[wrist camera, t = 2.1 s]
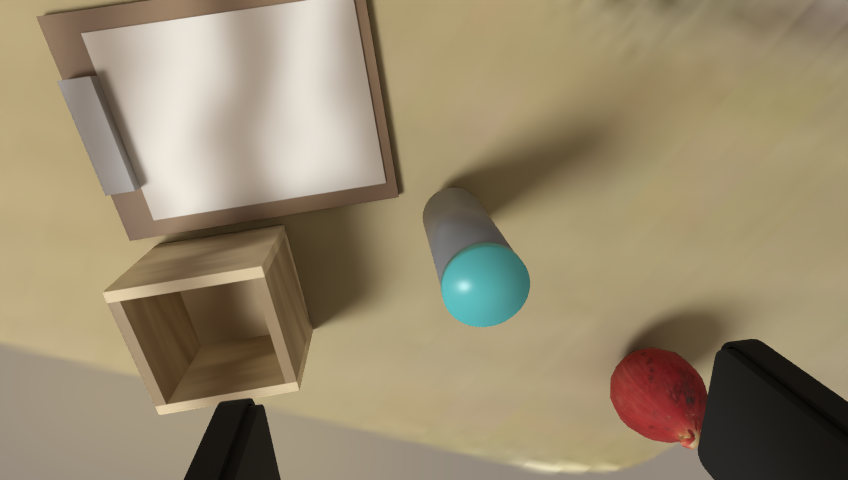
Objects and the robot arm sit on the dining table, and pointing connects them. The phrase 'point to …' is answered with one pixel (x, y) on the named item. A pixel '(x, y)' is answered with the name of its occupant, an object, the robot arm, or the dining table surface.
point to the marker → (473, 260)
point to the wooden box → (214, 319)
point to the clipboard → (225, 108)
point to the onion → (660, 396)
